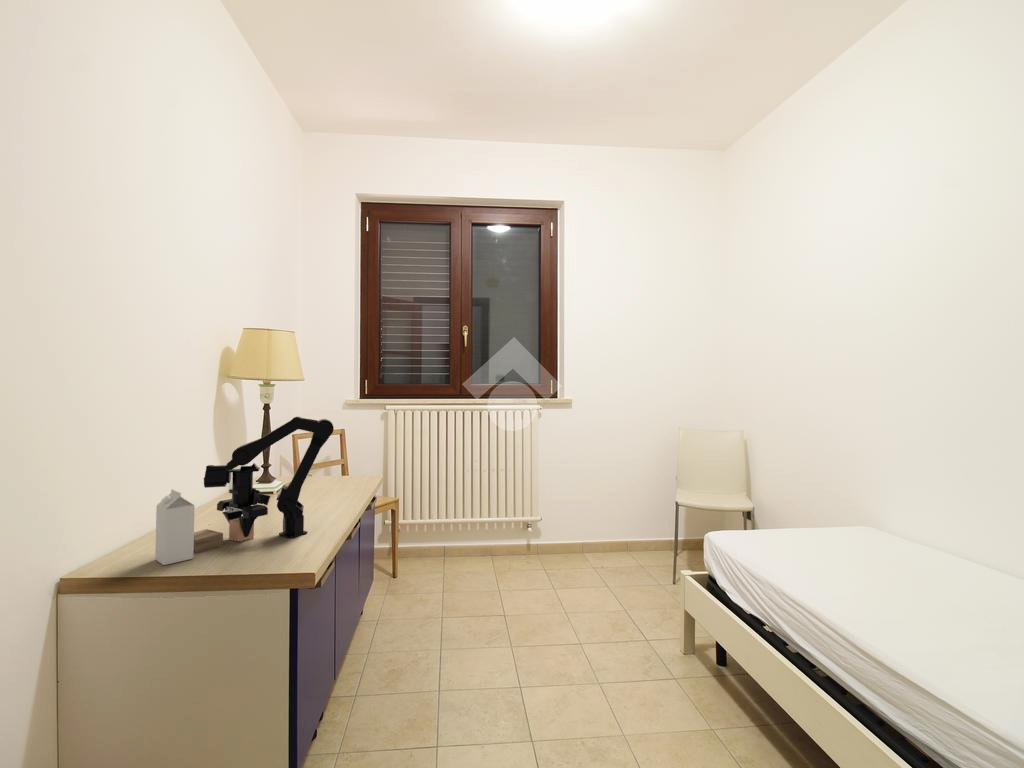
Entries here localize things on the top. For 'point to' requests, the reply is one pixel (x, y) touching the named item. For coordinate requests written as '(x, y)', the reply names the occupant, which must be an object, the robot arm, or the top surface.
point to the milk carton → (174, 529)
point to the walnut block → (207, 540)
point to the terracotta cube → (238, 531)
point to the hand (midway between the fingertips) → (241, 535)
